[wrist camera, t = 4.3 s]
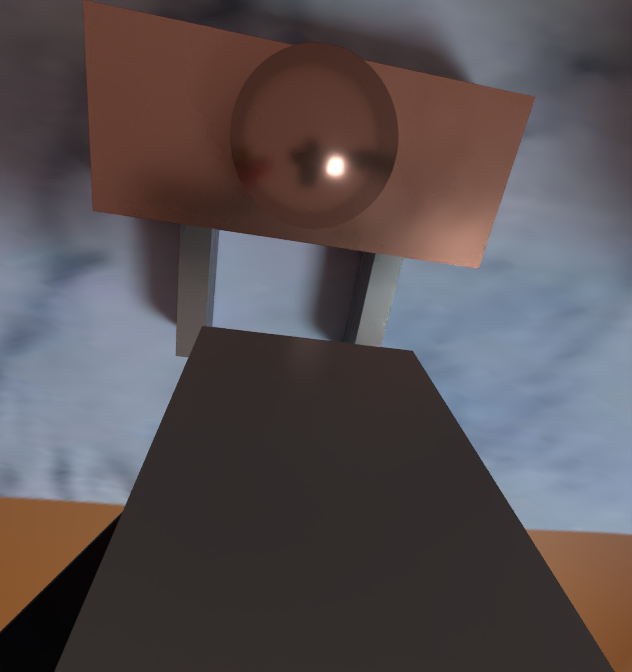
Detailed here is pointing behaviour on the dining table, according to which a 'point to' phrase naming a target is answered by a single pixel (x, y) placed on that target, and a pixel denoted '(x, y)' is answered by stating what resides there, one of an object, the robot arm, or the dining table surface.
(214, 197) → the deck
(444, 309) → the dining table surface
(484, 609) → the grey stepped block
